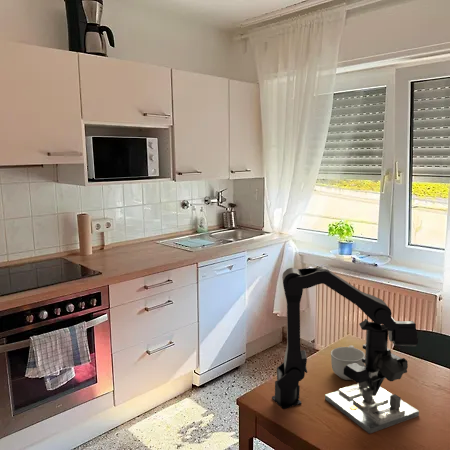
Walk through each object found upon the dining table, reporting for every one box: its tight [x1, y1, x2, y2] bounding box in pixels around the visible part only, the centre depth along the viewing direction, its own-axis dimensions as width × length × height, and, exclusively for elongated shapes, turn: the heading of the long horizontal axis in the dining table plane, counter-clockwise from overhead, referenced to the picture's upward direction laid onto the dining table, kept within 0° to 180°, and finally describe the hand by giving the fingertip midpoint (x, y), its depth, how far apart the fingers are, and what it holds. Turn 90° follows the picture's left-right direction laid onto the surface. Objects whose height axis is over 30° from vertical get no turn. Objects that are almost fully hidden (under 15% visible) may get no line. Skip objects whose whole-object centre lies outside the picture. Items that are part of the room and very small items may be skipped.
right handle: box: [390, 393, 402, 409], centre depth 116 cm, size 2×2×3 cm
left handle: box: [359, 381, 368, 388], centre depth 127 cm, size 2×2×3 cm
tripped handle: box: [363, 387, 373, 402], centre depth 119 cm, size 2×2×3 cm
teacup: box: [330, 345, 365, 381], centre depth 139 cm, size 14×11×8 cm
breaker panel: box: [324, 383, 420, 434], centre depth 120 cm, size 18×18×3 cm
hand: (373, 395), depth 121 cm, fingers closed
